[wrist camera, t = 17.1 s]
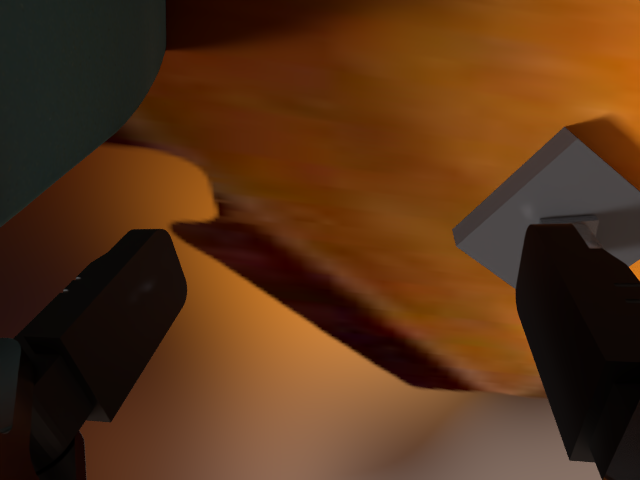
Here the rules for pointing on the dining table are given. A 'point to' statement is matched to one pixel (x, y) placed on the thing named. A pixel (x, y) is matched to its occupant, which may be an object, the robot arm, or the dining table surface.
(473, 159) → the dining table surface
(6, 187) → the flower pot
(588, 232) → the salt shaker
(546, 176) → the slate block
